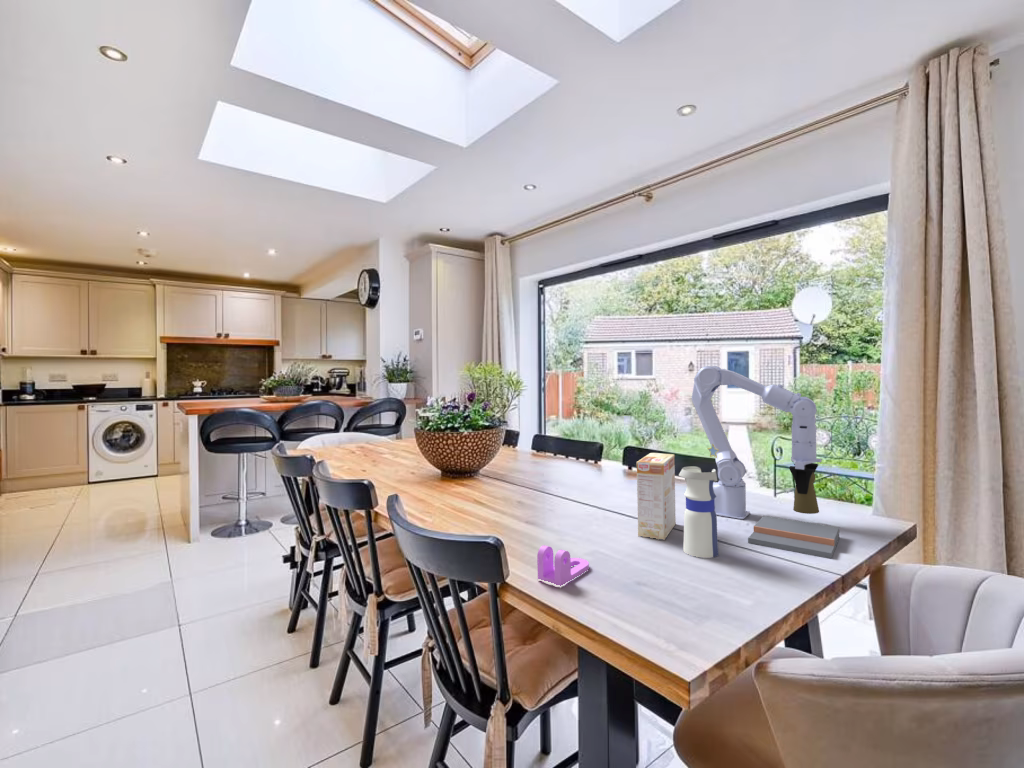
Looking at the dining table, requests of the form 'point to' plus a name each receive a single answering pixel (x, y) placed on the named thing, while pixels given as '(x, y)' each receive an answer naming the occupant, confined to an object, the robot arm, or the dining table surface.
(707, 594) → the dining table surface
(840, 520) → the dining table surface
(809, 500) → the cork
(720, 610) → the dining table surface
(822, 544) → the stepped stand
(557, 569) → the bracket
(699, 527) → the white spray bottle
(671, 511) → the coffeecake box
